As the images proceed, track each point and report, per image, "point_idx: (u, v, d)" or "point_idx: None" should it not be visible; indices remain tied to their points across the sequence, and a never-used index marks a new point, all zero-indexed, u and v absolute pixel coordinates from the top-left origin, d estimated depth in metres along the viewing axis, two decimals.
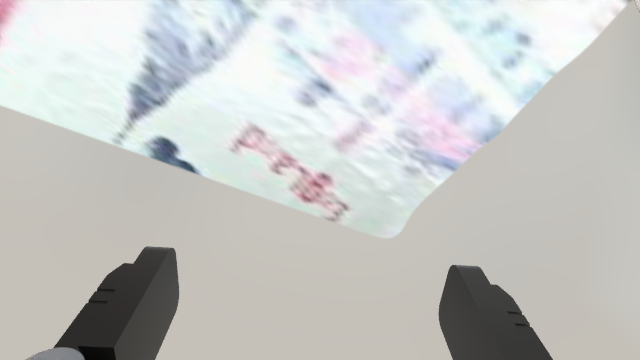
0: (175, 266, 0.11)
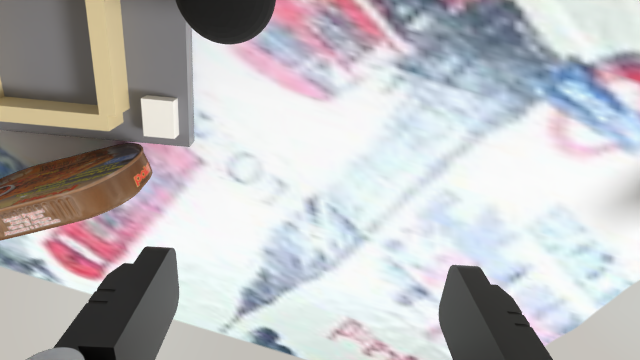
0: (175, 266, 0.11)
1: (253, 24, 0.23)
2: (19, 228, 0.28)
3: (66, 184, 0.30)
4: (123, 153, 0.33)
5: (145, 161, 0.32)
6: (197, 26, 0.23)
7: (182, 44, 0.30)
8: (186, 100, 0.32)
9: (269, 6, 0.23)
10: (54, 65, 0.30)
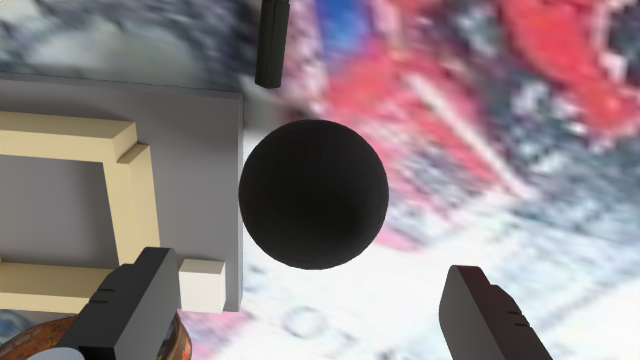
0: (175, 266, 0.11)
1: (359, 254, 0.15)
2: None
3: None
4: None
5: (184, 340, 0.25)
6: (275, 258, 0.15)
7: (233, 202, 0.22)
8: (236, 263, 0.24)
9: (382, 223, 0.15)
10: (64, 228, 0.23)
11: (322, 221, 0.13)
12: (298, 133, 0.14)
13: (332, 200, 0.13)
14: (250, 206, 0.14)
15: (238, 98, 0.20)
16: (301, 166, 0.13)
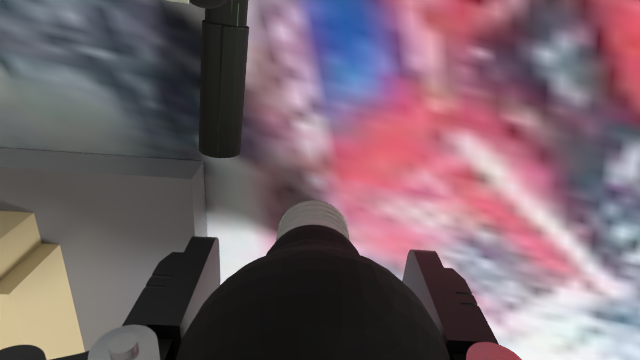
0: (218, 255, 0.12)
1: None
2: None
3: None
4: None
5: None
6: None
7: None
8: None
9: None
10: None
11: None
12: (281, 305, 0.07)
13: None
14: None
15: (193, 175, 0.13)
16: None
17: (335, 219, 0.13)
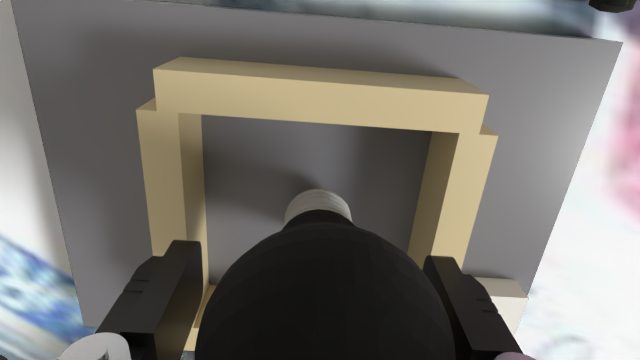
0: (201, 259, 0.12)
1: None
2: None
3: None
4: None
5: None
6: None
7: (557, 197, 0.16)
8: (528, 282, 0.18)
9: None
10: None
11: None
12: (299, 268, 0.08)
13: None
14: None
15: (615, 41, 0.14)
16: (306, 352, 0.07)
17: (339, 205, 0.14)
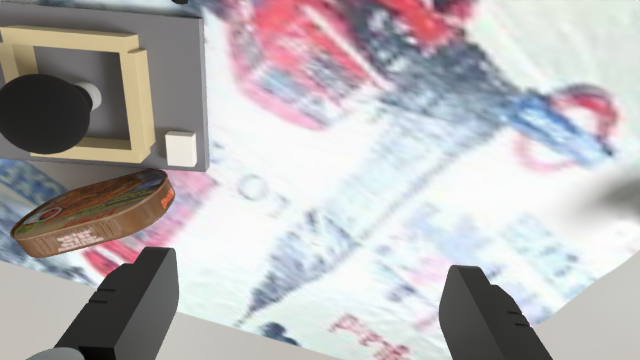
0: (175, 266, 0.11)
1: (61, 143, 0.29)
2: (70, 245, 0.35)
3: (106, 208, 0.36)
4: (150, 179, 0.39)
5: (169, 186, 0.38)
6: (17, 146, 0.29)
7: (198, 89, 0.36)
8: (202, 134, 0.38)
9: (75, 128, 0.29)
10: None
11: (20, 119, 0.27)
12: (19, 78, 0.28)
13: (24, 108, 0.27)
14: None
15: (199, 19, 0.34)
16: (10, 92, 0.27)
17: (88, 86, 0.34)
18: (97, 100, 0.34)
